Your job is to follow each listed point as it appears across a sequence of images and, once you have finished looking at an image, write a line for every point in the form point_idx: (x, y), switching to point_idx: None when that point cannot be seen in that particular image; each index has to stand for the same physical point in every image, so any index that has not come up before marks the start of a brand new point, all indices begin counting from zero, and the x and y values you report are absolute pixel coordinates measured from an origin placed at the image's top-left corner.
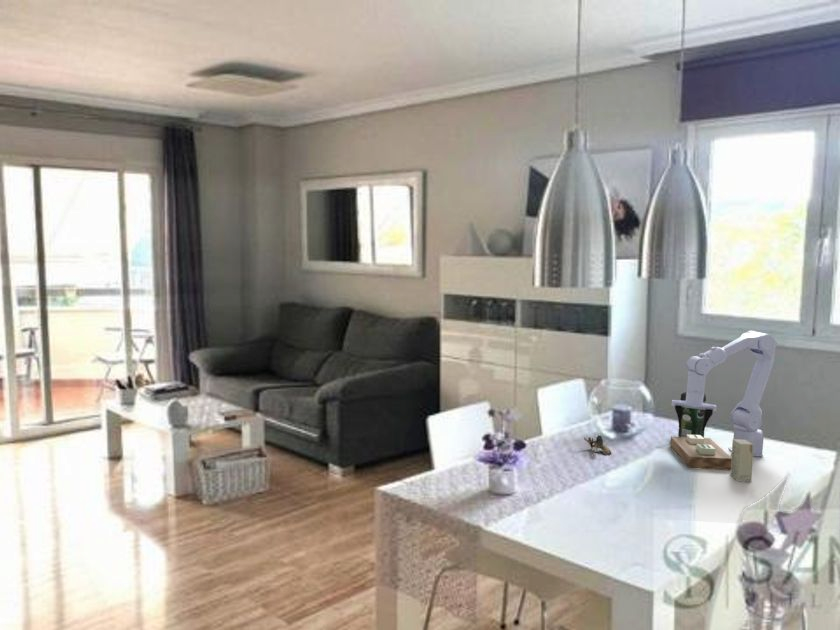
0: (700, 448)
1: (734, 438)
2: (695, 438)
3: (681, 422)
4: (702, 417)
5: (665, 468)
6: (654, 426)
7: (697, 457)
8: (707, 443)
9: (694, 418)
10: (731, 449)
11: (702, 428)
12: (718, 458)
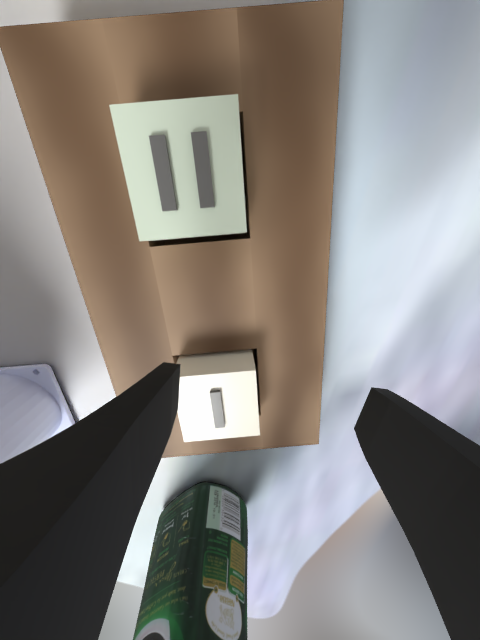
0: (238, 108)
1: (5, 451)
2: (225, 373)
3: (243, 577)
4: (143, 629)
5: (456, 21)
6: (291, 573)
7: (278, 8)
8: None
9: (187, 611)
10: (65, 419)
11: (174, 374)
12: (111, 21)
